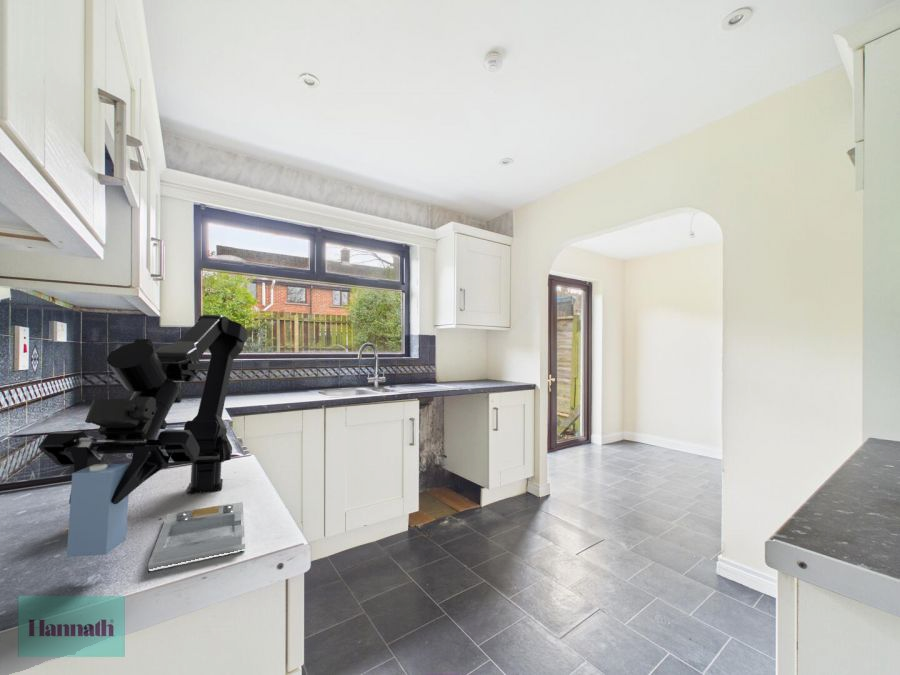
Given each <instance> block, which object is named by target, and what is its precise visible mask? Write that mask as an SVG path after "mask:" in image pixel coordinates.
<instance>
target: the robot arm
mask: <svg viewBox="0 0 900 675" xmlns="http://www.w3.org/2000/svg"><path fill="white" fill-rule="evenodd" d="M248 335H249V332H248V330H247V328H246V327H245V326H244V325H243V324H242V323H240V322H236V321H235V320H232V319H229V317H227V316H226V315H225V316H224V315H223V314H221V315H220V314H204V315H200V316H199V318H198V321H197V322H195V324H194V325H193V326H191V328H189V329H188V331H187V332H185V333H184V335H182V336H181V337H180V338H179V339H178V340H177V341H175V342H173V343H169V344H165V345H161V346H159V347H158V348H156V349H155V347H154V343H153V342H152V340H151V339H150V338H135V340H134V341H133V342H130V343H127V344H124V345H121V346H120V347H117V348H115V349H114V350H112V351H110V352H109V354H108V356H107V358H106V362H107V365H108V366H109V367H110V368H111V370H112V371H113V373H114V375H115V376H116V378H117V379H118V380H119V382H120V383H121V385H122V386H123V387H124V389H126V390H127V391H129V392H133V394H132V395H131V397H130V399H121V398H117V399H116V398H115V399H113V398H110V399H105V398H103V399H102V398H100V399H99V398H97V399H92V403H91V404H90V408H89V411H88V412H87V415H86V417H85V420H84V422H85V424H94V425H96V426H98V429H97V432H98V433H99V435H100V436H105V438H104V439H95V438H93V437H89V436H88V434H86V433H85V432H84V431H82V430H81V431H79V430H77V431H73V430H72V431H71V430H70V431H64V430H63V431H54V432H50V433H47V435H46V436H44V438H43V439H42V441H41V442H40V443H39V445H38V446H37V448H38V449H39V450H40V451H41V452H43V454H45V456H47V457H48V458H49V459H50V460H52V462H54V463H55V464H56V465H57V466H61V467H73V473H74V472H77V471H79V470H82V469H84V468H87V467H89V466H92V465H94V464H104V463H103V462H102V461H101V459H102V458H103V456H104V455H121V454H123V455H124V454H125V455H126V454H127V455H129V454H132V459H131V462H130V463H131V464H130V465H129V467H128V469H127V471H126V472H125V474H124V476H123V478H122V479H121V481H120V483H119V485H118V486H117V488H116V490H115V492H114V495H113V497H112V499H111V502H112V503H113V504H118V503H119V502H120V501H121V500H123V499H124V498H125V497H126V496H127V495H130V494H132V493H133V492H134V491H135V490H136V489H137V488H138V487H139V486H140V485H142V484H143V483H145V481H148V479H149V478H152V476H154V475H155V474H157V473H158V472H160V471H161V470H162V469H168V468H169V467H170V465H171V463H170V462H169V461H170V459H171V460H172V462H173V463H174V464H191V466H190V467H191V468H190V482H189V484H188V487H187V490H186V494H187V495H191V494H199V493H205V492H213V491H221V490H222V489H223V482H224V481H223V478H221V476H222V463H224V462H226V461H230V460H231V459H232V457H231V456H232V454H233V446H232V444H231V441H230V439H229V438H228V435H227V434H228V433H227V432H228V429H227V426H226V424H225V422H224V420H223V417H222V416H223V412H224V407H225V402H226V397H227V392H228V388H229V383H230V379H231V378H230V377H231V374H232V368H233V363H234V359H236V358H237V356H239V355H240V353H242V352H243V350H244V347H245V343H246V342H247V340H248V337H249V336H248ZM207 350H208V351H209V353H210V357H209V363H208V367H207V372H206V375H205V380H204V385H203V389H202V394H201V398H200V403H199V407H198V410H197V414H196V416H194V418H193V419H192V420H187V421H186V422H185V424H184V426H183V429H180V430H179V429H175V430H173V429H171V430H169V429H168V430H167V429H166V428H167V426H168V423H167V421H166V418H167V416H168V414H169V412H170V410H171V408H172V406H173V405H174V404H180V403H181V402H182V396H181V393H180V388H179V386H178V384H177V383H178V382H179V383H190V382H192V381H193V380H194V379H195V378H196V376H197V375H198V374H199V372H200V369H201V361H200V358H201V357H202V356H203V354H205V352H206V351H207ZM165 429H166V430H165ZM160 430H162V431H160ZM159 431H160V432H159ZM158 433H159V434H158ZM157 435H158V437H157ZM156 437H157V439H156ZM70 500H71V493H70V495H69V501H68V503H69V505H70Z"/></svg>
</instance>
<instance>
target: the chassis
mask: <svg viewBox="0 0 900 675" xmlns="http://www.w3.org/2000/svg"><path fill="white" fill-rule="evenodd" d="M243 505H244V503H243V501H241V502H240V501H239V502H234V503H228V504H227V503H226V504H221V505H214V506H208V507H203V508H197V509H191V510H184V511H178V512H171V513H167V515H166V518H165V520H164V523H163V525H162V527H161V530H160V533H159V535H158V538H157V541H156V543H155V546H154V549H153V551H152V553H151V556H150V559H149V561H148V566H147V571H148V570H149V569H153V568H157V567H161V566H168V565H172V564H178V563H181V562H186V561H191V560H195V559H199V558H205V557H209V556H214V555H219V554H224V553H230V552H234V551H238V550H242V549H245V550H246V536H245V535H246V534H245V521H244V520H245V518H244V517H245V516H244V506H243Z"/></svg>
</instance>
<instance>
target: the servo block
mask: <svg viewBox="0 0 900 675" xmlns="http://www.w3.org/2000/svg"><path fill="white" fill-rule="evenodd" d="M130 464H131V462H130V463H129V462H127V463H123V462H122V463H103V464H94V465H92V466H89V467H87V468H84V469H82V470H79V471H77V472H74V471H73V473H71V474H72V475H71V487H70V494H71V500H70V499H69V500H70V504H69V517H68V533H67V545H66V558H75V557H93V556H104V555H105V556H106V555H108V554H109V553H110V552H112V551H113V550H114V549H115V548H117V547H118V546H119V545H121V544H122V543H123V542H125V541H126V540H127V528H128V511H129V495H130V494H129V495H127V496H126V497H125V498H124V499H123V500H121V501H120V502H119V503H118V504H113V503H112V502H111V499H112V497H113V495H114V492H115V490H116V488H117V486H118V485H119V483H120V481H121V479H122V478H123V476H124V474H125V472H126V471H127V469H128V467H129V465H130Z"/></svg>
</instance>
